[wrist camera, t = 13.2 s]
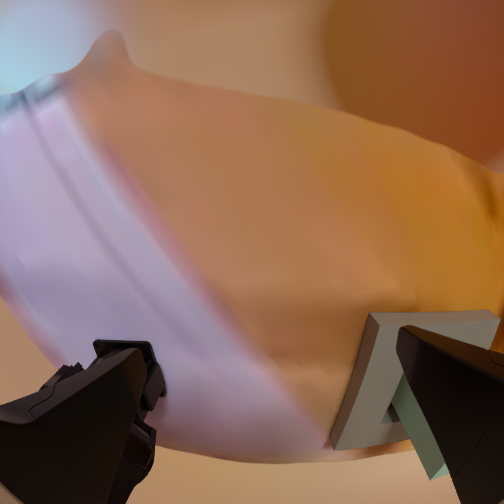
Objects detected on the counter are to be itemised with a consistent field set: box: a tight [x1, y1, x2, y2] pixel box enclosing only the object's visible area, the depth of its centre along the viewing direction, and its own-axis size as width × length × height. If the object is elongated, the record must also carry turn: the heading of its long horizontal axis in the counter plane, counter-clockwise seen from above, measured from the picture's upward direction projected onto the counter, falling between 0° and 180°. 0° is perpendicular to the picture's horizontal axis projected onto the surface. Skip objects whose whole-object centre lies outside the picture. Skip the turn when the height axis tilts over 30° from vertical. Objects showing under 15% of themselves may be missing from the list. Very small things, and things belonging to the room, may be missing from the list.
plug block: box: [391, 372, 449, 480], centre depth 18 cm, size 5×5×12 cm
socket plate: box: [330, 310, 501, 451], centre depth 23 cm, size 16×16×2 cm
